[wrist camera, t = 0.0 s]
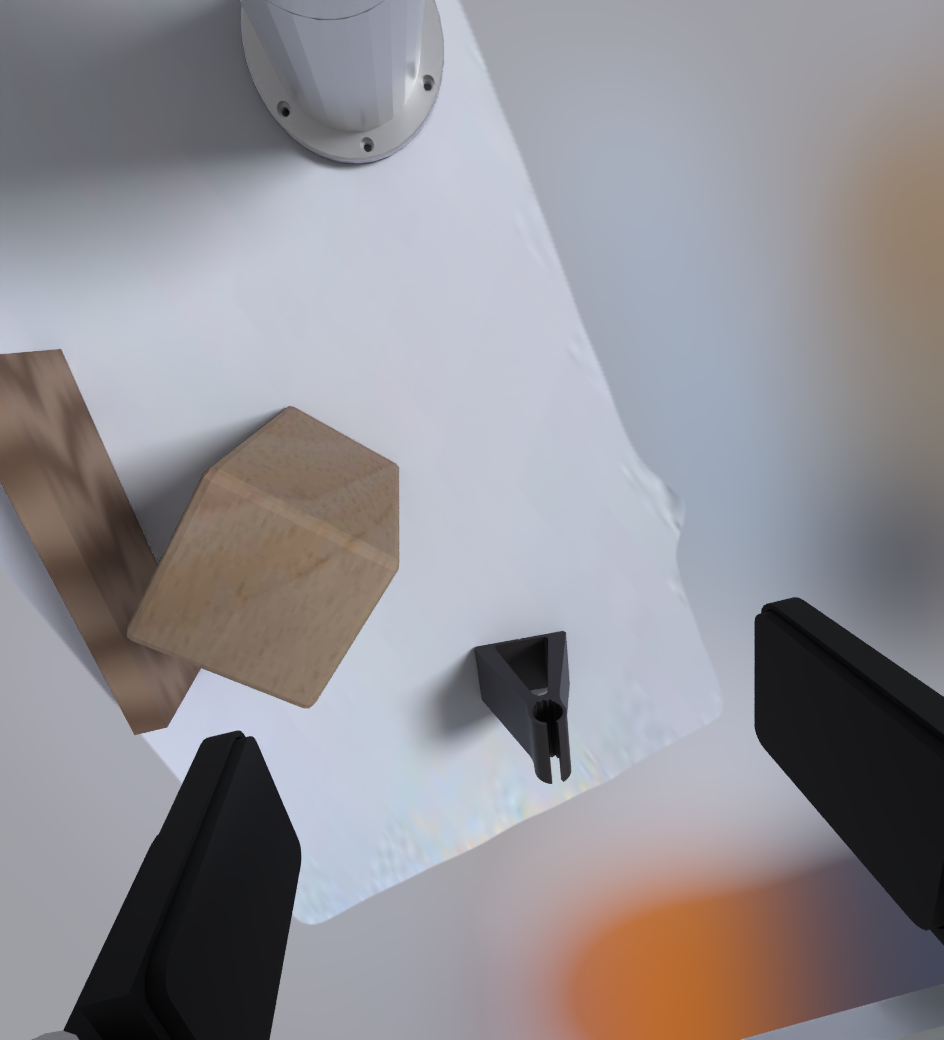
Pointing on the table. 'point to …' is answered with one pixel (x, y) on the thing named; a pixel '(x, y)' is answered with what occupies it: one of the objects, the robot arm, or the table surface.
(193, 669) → the walnut board
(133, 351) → the table surface
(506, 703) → the phone stand
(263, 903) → the robot arm
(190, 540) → the wooden block
